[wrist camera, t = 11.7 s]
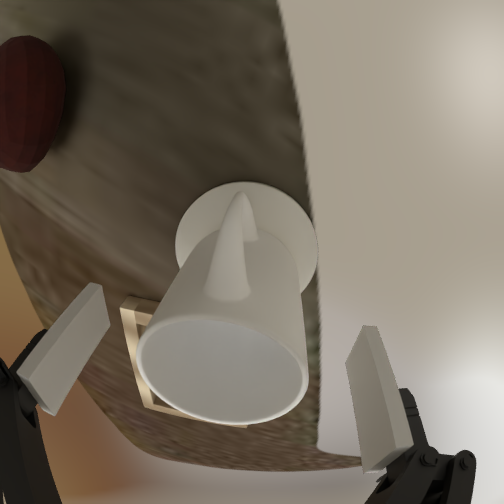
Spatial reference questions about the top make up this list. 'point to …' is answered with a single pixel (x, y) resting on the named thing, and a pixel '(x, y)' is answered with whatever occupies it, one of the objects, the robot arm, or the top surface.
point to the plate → (266, 219)
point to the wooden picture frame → (134, 323)
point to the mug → (230, 328)
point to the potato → (28, 101)
